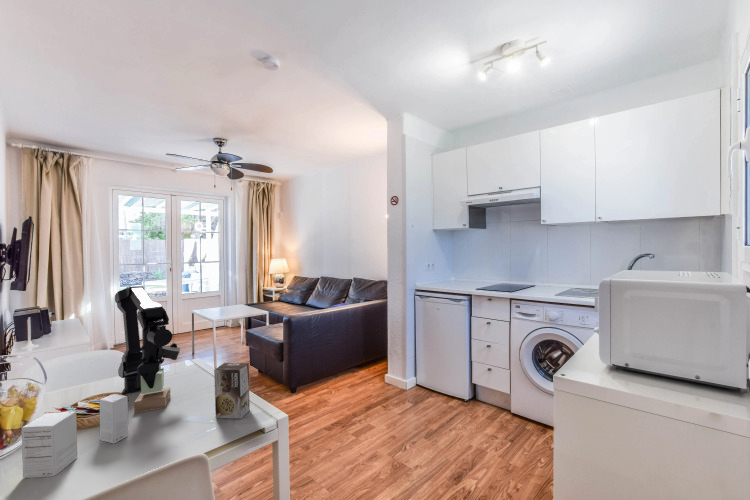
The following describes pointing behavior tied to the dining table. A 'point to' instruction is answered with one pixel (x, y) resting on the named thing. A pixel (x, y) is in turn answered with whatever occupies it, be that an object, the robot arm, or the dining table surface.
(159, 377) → the sage cube
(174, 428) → the dining table surface
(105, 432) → the skincare box
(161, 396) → the walnut block
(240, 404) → the grey cardboard box
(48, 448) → the supplement box
